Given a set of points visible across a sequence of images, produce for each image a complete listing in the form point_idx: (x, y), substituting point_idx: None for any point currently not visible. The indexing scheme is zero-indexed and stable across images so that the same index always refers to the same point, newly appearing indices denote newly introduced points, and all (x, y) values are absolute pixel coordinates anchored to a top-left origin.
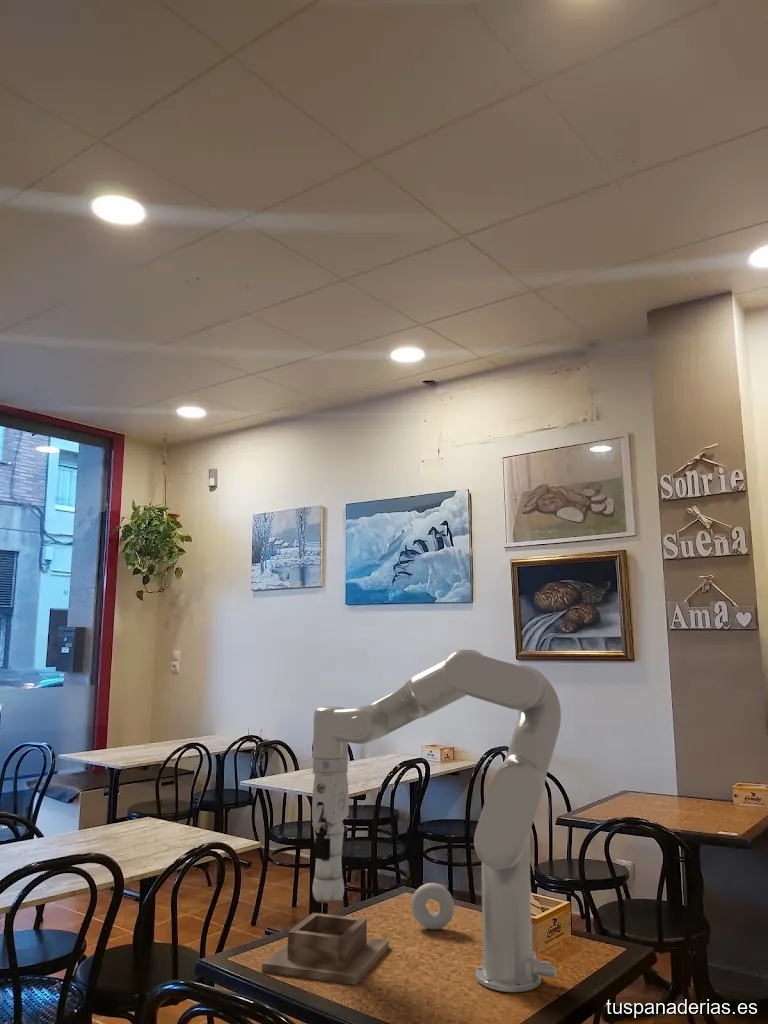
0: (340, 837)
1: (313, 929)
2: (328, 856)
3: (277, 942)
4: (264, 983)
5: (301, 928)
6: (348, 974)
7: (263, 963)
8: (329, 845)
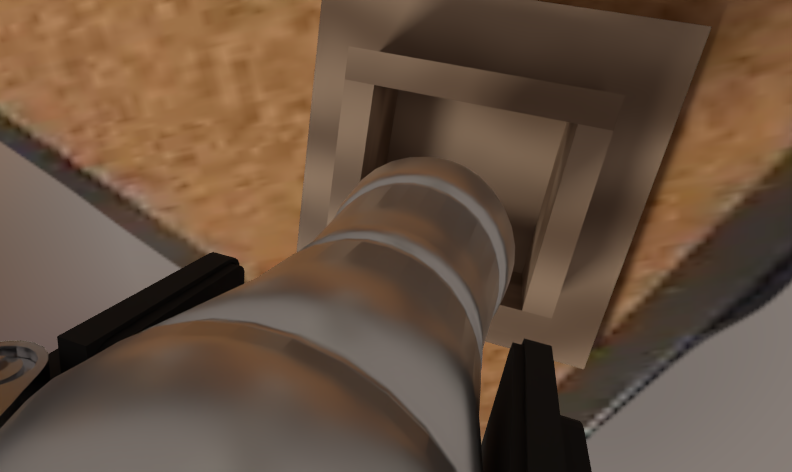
0: (363, 338)
1: None
2: (552, 361)
3: None
4: (675, 336)
5: None
6: (686, 62)
7: (585, 364)
8: (560, 433)
